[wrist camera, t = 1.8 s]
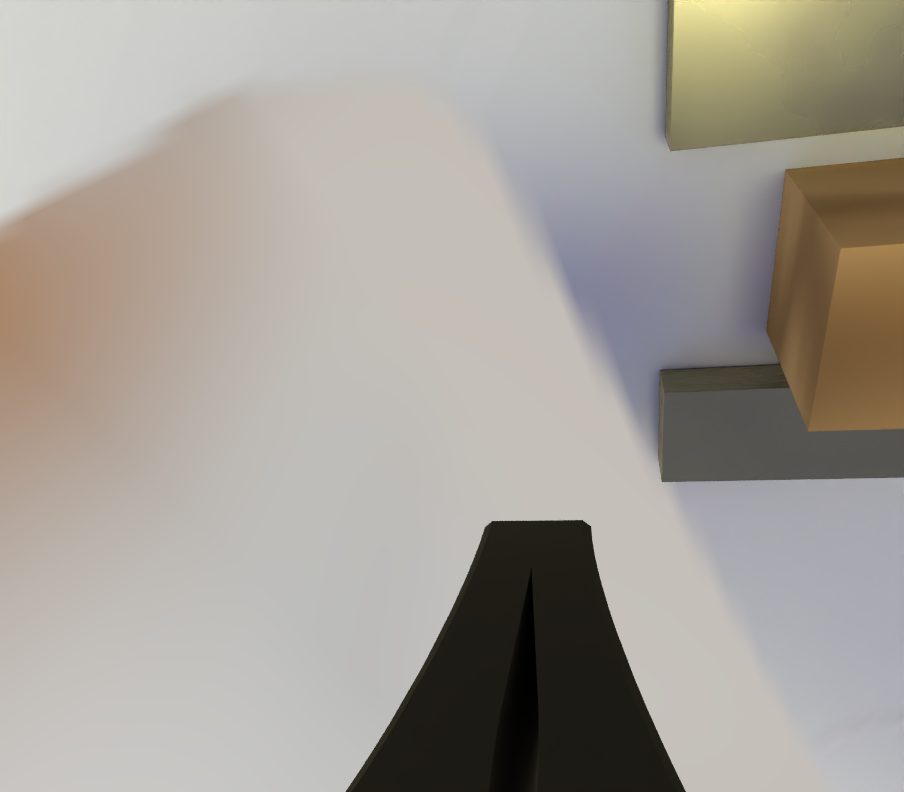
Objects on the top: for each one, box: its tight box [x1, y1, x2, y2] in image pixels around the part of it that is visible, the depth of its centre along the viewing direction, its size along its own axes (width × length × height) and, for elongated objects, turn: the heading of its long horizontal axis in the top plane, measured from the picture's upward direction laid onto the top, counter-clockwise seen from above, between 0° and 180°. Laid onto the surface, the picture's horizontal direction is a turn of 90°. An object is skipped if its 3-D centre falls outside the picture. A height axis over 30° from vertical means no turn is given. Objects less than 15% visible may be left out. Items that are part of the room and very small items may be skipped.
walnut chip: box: [766, 158, 904, 432], centre depth 14 cm, size 4×4×4 cm
